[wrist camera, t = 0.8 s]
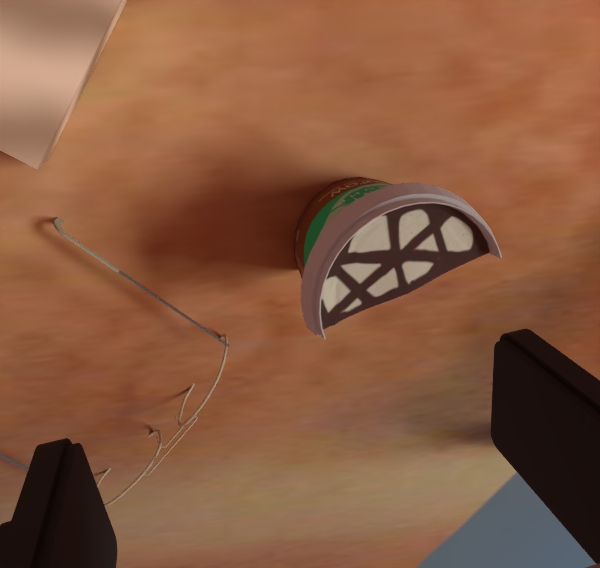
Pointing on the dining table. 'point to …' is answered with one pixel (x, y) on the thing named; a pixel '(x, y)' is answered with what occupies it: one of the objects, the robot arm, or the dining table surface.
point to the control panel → (47, 68)
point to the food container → (380, 244)
